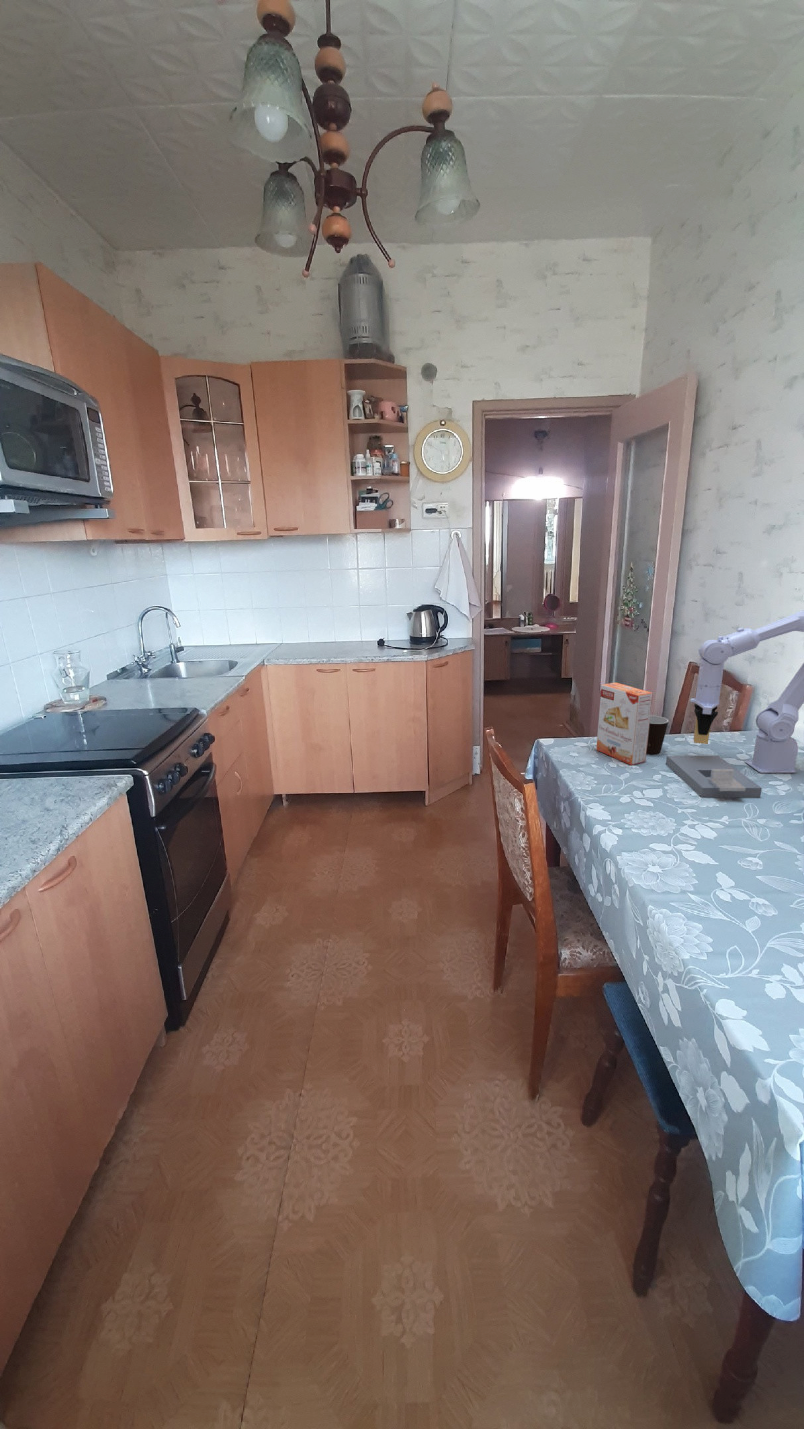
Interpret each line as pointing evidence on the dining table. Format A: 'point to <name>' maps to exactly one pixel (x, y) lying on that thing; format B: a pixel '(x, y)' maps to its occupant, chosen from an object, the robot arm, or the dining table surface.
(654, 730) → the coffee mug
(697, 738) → the plug
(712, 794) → the socket plate
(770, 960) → the dining table surface
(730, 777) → the panel
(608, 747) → the cracker box
